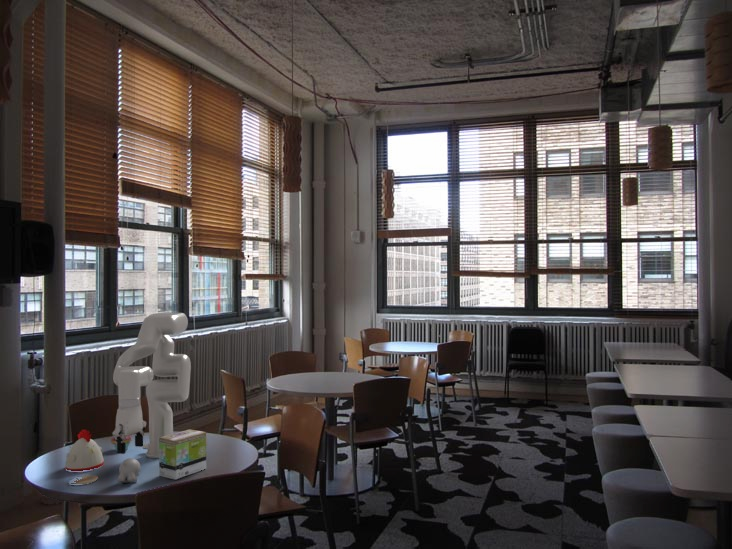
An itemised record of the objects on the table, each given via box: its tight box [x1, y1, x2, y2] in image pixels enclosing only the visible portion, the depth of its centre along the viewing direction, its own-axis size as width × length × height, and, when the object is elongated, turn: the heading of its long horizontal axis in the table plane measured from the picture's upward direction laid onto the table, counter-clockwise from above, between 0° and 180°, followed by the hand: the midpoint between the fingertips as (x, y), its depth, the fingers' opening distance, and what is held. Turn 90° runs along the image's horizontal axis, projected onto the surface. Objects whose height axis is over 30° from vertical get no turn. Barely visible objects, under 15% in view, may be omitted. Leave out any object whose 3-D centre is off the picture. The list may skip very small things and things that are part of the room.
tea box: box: [158, 428, 207, 480], centre depth 228 cm, size 15×10×15 cm
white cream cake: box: [64, 429, 105, 471], centre depth 237 cm, size 14×14×15 cm
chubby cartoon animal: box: [117, 457, 141, 484], centre depth 220 cm, size 7×12×8 cm, turn 179°
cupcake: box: [110, 435, 132, 451], centre depth 261 cm, size 9×8×12 cm
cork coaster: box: [71, 474, 99, 485], centre depth 220 cm, size 10×10×1 cm
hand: (130, 449), depth 219 cm, fingers open, 9 cm apart
